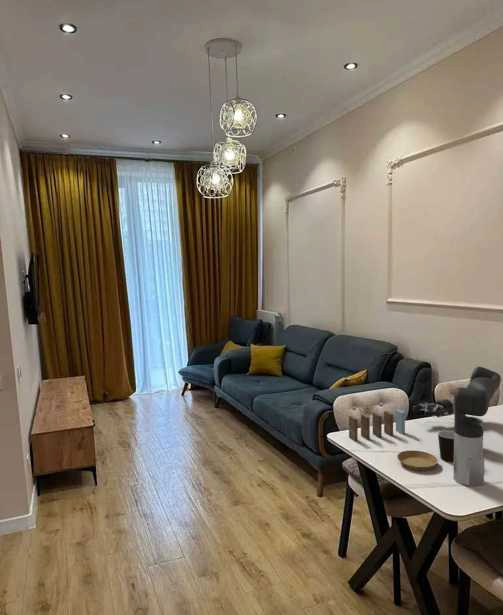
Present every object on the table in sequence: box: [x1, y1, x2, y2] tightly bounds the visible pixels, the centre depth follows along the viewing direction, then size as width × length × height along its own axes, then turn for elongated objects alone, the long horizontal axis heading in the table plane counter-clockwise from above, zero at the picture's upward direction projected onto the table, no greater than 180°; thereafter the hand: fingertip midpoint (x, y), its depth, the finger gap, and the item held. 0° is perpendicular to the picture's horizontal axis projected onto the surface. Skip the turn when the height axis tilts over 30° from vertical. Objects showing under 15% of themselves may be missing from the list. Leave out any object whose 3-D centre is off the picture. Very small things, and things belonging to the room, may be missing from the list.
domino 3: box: [372, 412, 383, 438], centre depth 203 cm, size 2×5×10 cm, turn 16°
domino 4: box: [383, 410, 394, 437], centre depth 205 cm, size 2×5×10 cm, turn 16°
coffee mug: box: [437, 430, 454, 463], centre depth 178 cm, size 12×9×10 cm
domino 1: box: [348, 415, 359, 442], centre depth 200 cm, size 2×5×10 cm, turn 16°
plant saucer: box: [396, 449, 438, 471], centre depth 174 cm, size 15×15×3 cm
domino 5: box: [395, 409, 406, 435], centre depth 206 cm, size 2×5×10 cm, turn 16°
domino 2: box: [360, 413, 371, 440], centre depth 201 cm, size 2×5×10 cm, turn 16°
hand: (419, 411), depth 209 cm, fingers open, 8 cm apart
